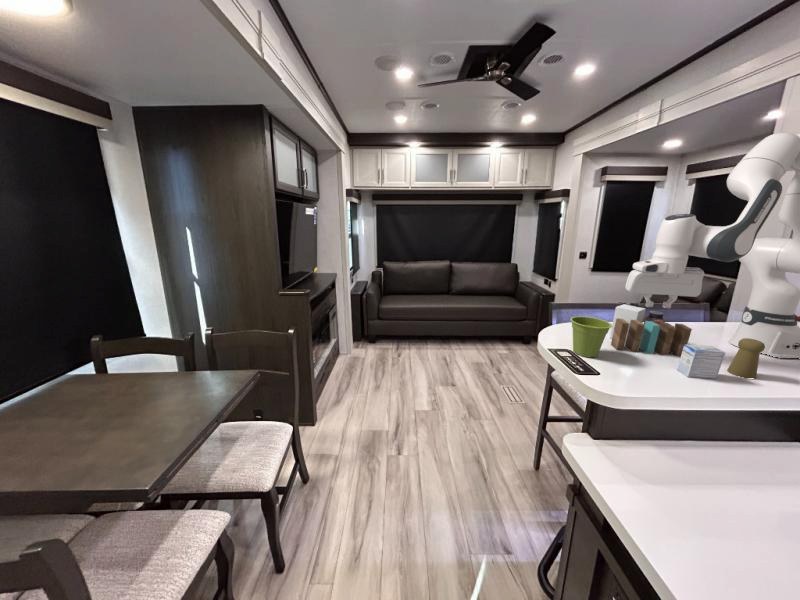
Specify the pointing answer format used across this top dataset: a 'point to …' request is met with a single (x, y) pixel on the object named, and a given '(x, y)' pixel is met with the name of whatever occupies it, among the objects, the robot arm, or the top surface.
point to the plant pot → (588, 335)
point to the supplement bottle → (655, 317)
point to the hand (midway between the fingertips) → (657, 307)
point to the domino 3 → (649, 337)
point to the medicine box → (700, 361)
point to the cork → (746, 358)
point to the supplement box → (627, 315)
